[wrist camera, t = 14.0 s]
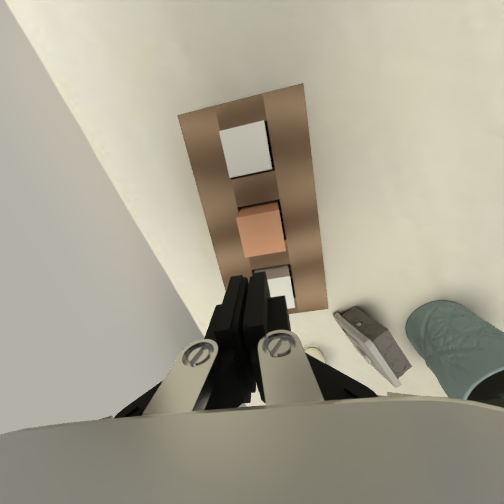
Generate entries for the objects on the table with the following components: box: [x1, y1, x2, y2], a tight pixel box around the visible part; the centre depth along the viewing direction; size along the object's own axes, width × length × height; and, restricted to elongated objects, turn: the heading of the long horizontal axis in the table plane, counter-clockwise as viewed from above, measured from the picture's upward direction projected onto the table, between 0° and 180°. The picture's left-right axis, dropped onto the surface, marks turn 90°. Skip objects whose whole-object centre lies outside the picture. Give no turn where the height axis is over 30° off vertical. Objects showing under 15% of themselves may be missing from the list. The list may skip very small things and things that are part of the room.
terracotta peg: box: [236, 200, 286, 258], centre depth 25 cm, size 4×4×6 cm
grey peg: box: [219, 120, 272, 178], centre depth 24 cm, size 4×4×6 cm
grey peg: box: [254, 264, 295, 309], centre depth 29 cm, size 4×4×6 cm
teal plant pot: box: [406, 300, 504, 408], centre depth 30 cm, size 10×10×12 cm
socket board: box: [178, 83, 328, 314], centre depth 29 cm, size 24×12×5 cm, turn 12°
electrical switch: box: [333, 306, 412, 388], centre depth 32 cm, size 8×5×8 cm, turn 36°
